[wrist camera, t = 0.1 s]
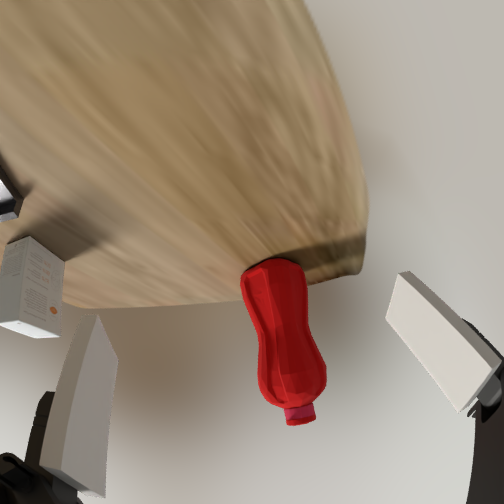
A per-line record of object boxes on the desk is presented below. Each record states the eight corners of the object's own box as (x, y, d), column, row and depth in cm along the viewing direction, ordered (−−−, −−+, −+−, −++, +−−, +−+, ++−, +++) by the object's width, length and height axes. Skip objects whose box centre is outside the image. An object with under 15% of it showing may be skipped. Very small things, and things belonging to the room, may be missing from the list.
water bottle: (272, 285, 53) (299, 416, 42) (230, 275, 46) (257, 432, 35) (313, 265, 48) (347, 409, 37) (275, 251, 41) (312, 429, 30)
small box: (5, 243, 26) (-8, 323, 21) (30, 234, 26) (17, 320, 21) (40, 268, 33) (34, 339, 28) (66, 262, 33) (61, 337, 28)
